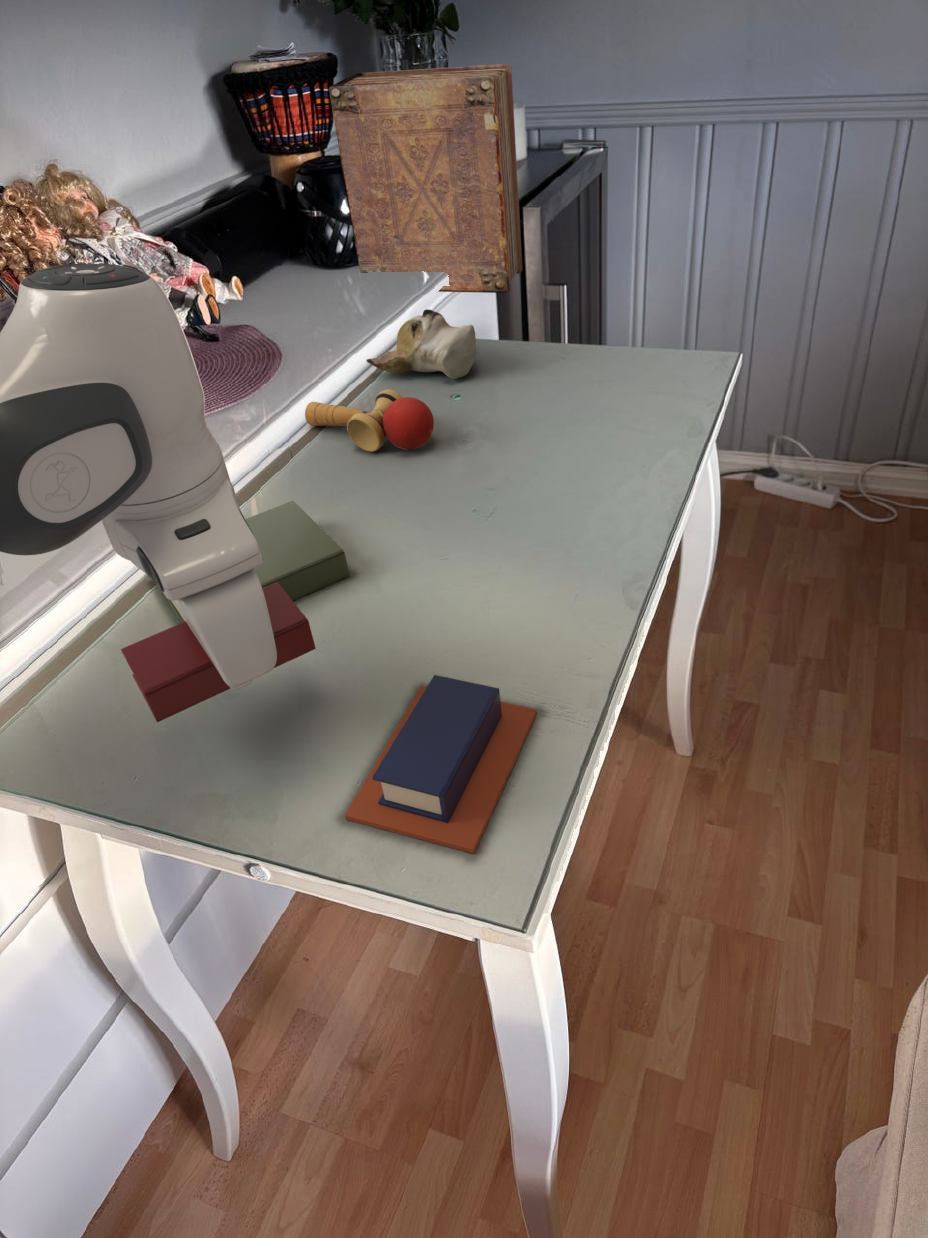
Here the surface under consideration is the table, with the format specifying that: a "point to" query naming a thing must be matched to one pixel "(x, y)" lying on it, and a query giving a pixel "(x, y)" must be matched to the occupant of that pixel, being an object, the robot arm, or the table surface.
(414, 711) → the navy book
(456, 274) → the book
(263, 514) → the olive book
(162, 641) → the burgundy book
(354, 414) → the kendama
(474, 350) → the ceramic sculpture
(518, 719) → the rubber mat
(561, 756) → the table surface
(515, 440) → the table surface
